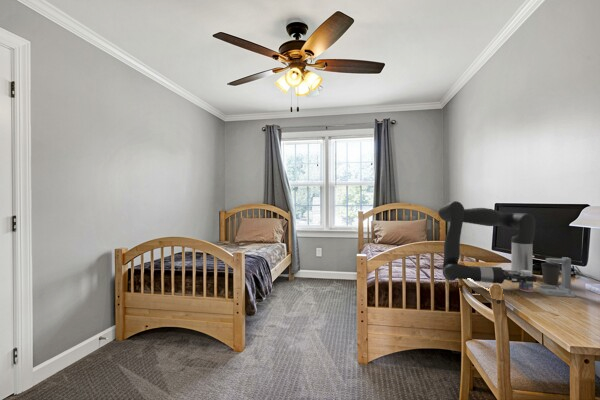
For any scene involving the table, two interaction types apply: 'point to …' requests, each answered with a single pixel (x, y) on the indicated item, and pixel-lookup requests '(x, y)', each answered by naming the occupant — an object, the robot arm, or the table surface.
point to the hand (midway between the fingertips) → (532, 277)
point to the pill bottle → (528, 285)
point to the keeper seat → (566, 279)
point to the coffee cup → (550, 273)
